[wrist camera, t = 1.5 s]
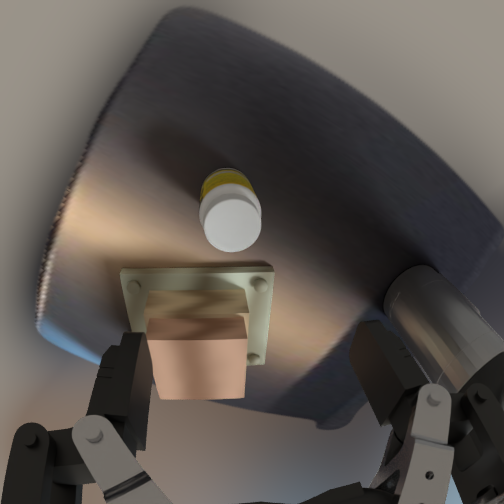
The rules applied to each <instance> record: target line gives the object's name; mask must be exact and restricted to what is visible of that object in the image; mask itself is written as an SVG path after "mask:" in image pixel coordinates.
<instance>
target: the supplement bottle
mask: <svg viewBox="0 0 504 504" xmlns="http://www.w3.org/2000/svg"><path fill="white" fill-rule="evenodd" d="M199 218H200V222H201V225H202V227H203V229H204V233H205V236H206V238H207V239H208V241H209V242H210V243H211V244H212V245H213V246H214V247H215V248H217V249H219V250H222V251H225V252H238V251H241V250H244V249H246V248H248V247H249V246H251V245H252V244H253V243H254V242H255V241H256V239H257V238H258V236H259V234H260V230H261V206H260V203H259V201H258V199H257V197H256V195H255V193H254V190H253V188H252V186H251V184H250V182H249V180H248V179H247V177H246V176H245V175H244V174H243V173H242V172H240V171H238V170H236V169H232V168H222V169H218V170H216V171H214V172H212V173H211V174H210V175H208V176H207V178H206V179H205V180H204V182H203V184H202V188H201V196H200V206H199Z"/></svg>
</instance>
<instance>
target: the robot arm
mask: <svg viewBox="0 0 504 504" xmlns="http://www.w3.org/2000/svg"><path fill="white" fill-rule="evenodd" d="M383 309H384V312H385V314H386V316H387V317H388V319H389V320H390V322H391V323H392V324H393V326H394V327H395V329H396V330H397V331H398V333H399V334H400V336H401V337H402V339H403V340H404V342H405V343H406V345H407V346H408V347H409V349H410V350H411V352H412V353H413V355H414V356H415V358H416V359H417V361H418V362H419V364H420V365H421V367H422V368H423V370H424V371H425V373H426V374H427V376H428V377H429V379H430V380H431V382H432V383H429V381H428V380H427V378H426V377H425V375H424V373H423V372H422V371H421V369H420V368H419V366H418V364H417V363H416V361H415V360H414V358H413V357H411V354H410V352H409V351H408V349H406V346H405V345H404V344H403V342H402V341H401V339H400V338H399V337H398V336H396V335H395V334H394V333H392V332H391V331H387V330H386V329H385V327H384V326H383V324H382V323H381V322H380V321H379V320H372V321H364V322H360V323H359V325H358V327H357V330H356V333H355V336H354V339H353V342H352V345H351V348H350V352H349V358H350V363H351V365H352V367H353V369H354V371H355V373H356V375H357V378H358V380H359V382H360V384H361V386H362V388H363V390H364V392H365V394H366V396H367V398H368V401H369V403H370V405H371V407H372V409H373V411H374V413H375V415H376V418H377V420H378V422H379V424H380V426H381V427H382V426H386V425H389V424H391V425H392V427H393V429H392V431H391V433H390V436H389V440H388V443H387V446H386V449H385V453H384V455H383V459H382V462H381V465H380V468H379V470H378V472H377V474H376V476H375V477H374V478H373V480H372V482H371V484H370V486H369V488H362V486H361V483H360V482H357V483H353V484H350V485H346V486H342V487H339V488H335V489H330V490H328V491H326V492H324V493H322V494H320V495H318V496H316V497H313V498H311V499H309V500H307V501H305V502H302V503H299V504H445V500H446V496H447V491H448V487H449V481H450V476H451V475H452V477H453V480H454V482H455V485H456V487H457V490H458V492H459V494H460V497H461V500H462V502H463V504H504V341H503V339H502V338H501V337H500V336H499V335H498V334H497V333H496V332H495V331H494V330H493V329H492V327H490V325H489V324H488V323H487V322H486V321H485V320H484V319H483V318H482V317H481V316H480V311H479V310H478V309H477V308H476V307H475V306H474V305H473V304H472V303H471V302H470V301H469V300H468V299H467V298H466V297H465V296H464V295H463V294H462V293H461V292H460V291H459V290H458V289H457V288H456V287H455V286H454V285H453V284H452V283H450V282H449V281H448V280H447V279H446V278H445V277H444V276H443V275H442V274H441V273H437V272H436V271H435V270H434V269H432V268H431V267H429V266H426V265H418V266H414V267H412V268H410V269H408V270H406V271H405V272H403V273H402V274H401V275H400V276H398V277H397V278H396V279H395V281H394V282H393V283H392V284H391V286H390V287H389V289H388V291H387V293H386V296H385V299H384V303H383ZM99 367H100V369H99V370H98V373H97V378H96V380H95V384H94V388H93V391H92V395H91V399H90V403H89V407H88V411H87V414H86V416H85V417H83V418H81V419H80V420H78V422H77V423H76V424H75V425H74V427H72V428H68V429H62V430H54V431H47V430H46V429H45V428H44V427H43V426H41V425H40V424H38V423H26V424H24V425H22V426H21V427H19V429H18V430H17V431H16V433H15V435H14V439H13V443H12V447H11V451H10V456H9V460H8V465H7V470H6V475H5V480H4V486H3V493H2V500H1V504H82V487H83V484H89V483H96V482H97V484H98V486H99V487H100V489H101V490H102V492H103V494H104V499H105V501H106V503H107V504H173V503H172V502H171V501H170V500H169V499H168V498H167V496H166V495H165V494H164V493H163V492H162V491H161V489H160V488H159V487H158V486H157V485H156V484H155V483H154V481H153V480H152V479H151V477H150V476H149V475H148V474H147V473H146V472H145V471H144V470H143V468H142V467H141V465H140V464H139V463H138V461H137V460H136V450H142V451H145V449H146V436H147V424H148V413H149V404H150V395H151V387H152V379H153V364H152V359H151V355H150V351H149V346H148V342H147V338H146V334H145V332H124V333H123V336H122V340H121V343H120V346H116V345H111V346H110V347H109V349H108V350H107V351H106V352H105V353H104V354H103V356H102V360H101V363H100V366H99ZM241 504H283V503H270V502H269V503H268V502H253V503H241Z"/></svg>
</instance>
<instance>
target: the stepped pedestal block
mask: <svg viewBox="0 0 504 504" xmlns="http://www.w3.org/2000/svg"><path fill="white" fill-rule="evenodd" d="M274 273H275V272H274V269H273V266H257V267H201V268H122V270H121V272H120V279H121V285H122V290H123V295H124V299H125V304H126V309H127V313H128V317H129V322H130V326H131V330H132V332H145V334H146V338H147V342H148V346H149V351H150V355H151V359H152V364H153V375H154V379H155V383H156V386H157V390H158V393H159V396H160V399H178V400H179V399H180V400H201V399H232V398H244V392H245V378H246V365H262V364H264V363H265V355H266V346H267V338H268V329H269V320H270V311H271V302H272V292H273V283H274Z"/></svg>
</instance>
